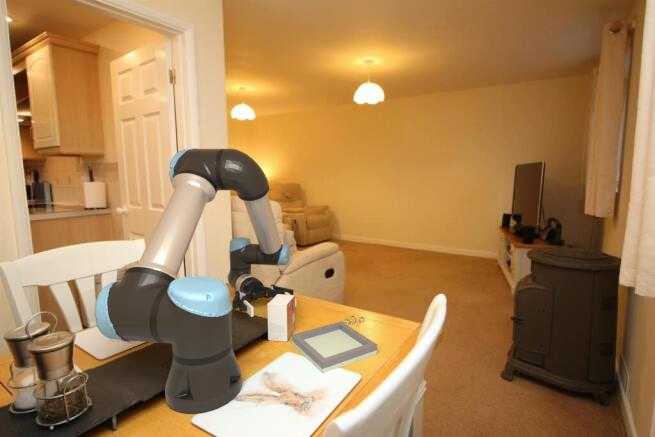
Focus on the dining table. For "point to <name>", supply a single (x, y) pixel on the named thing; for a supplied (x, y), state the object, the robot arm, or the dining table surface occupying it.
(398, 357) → the dining table surface
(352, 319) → the dice set
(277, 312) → the small box
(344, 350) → the tray
